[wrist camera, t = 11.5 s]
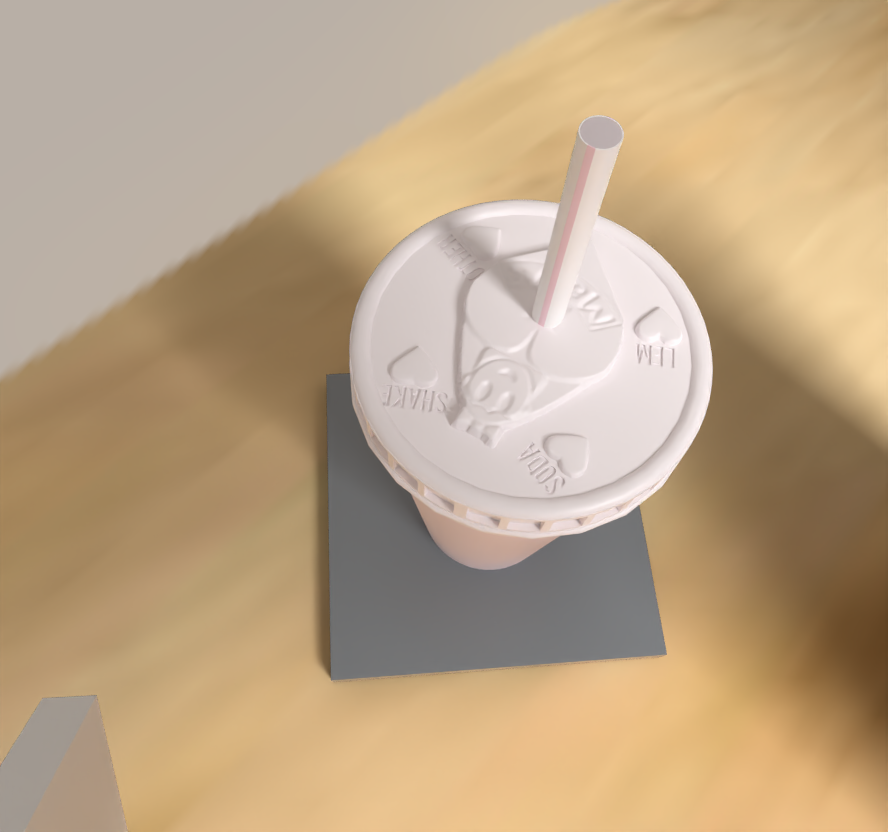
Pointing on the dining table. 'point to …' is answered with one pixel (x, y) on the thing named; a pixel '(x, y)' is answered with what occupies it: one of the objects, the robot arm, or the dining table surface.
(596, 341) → the smoothie
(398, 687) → the dining table surface
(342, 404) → the coaster
